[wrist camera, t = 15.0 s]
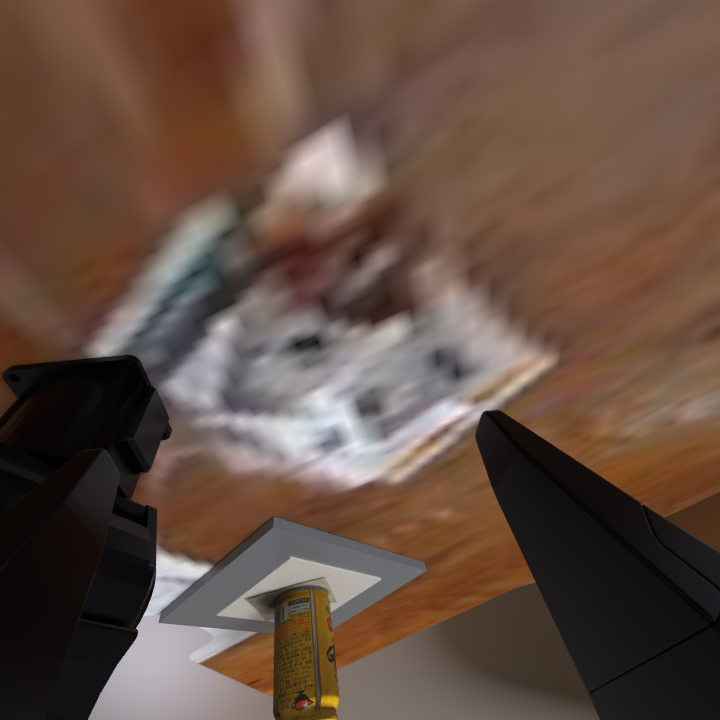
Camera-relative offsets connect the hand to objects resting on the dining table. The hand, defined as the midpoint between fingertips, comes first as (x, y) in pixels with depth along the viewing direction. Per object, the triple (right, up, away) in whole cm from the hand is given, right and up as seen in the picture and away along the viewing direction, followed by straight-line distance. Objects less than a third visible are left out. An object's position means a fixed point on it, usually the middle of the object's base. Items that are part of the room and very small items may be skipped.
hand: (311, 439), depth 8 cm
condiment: (-6, -25, +30) cm, 39 cm away
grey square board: (-6, -24, +31) cm, 40 cm away
